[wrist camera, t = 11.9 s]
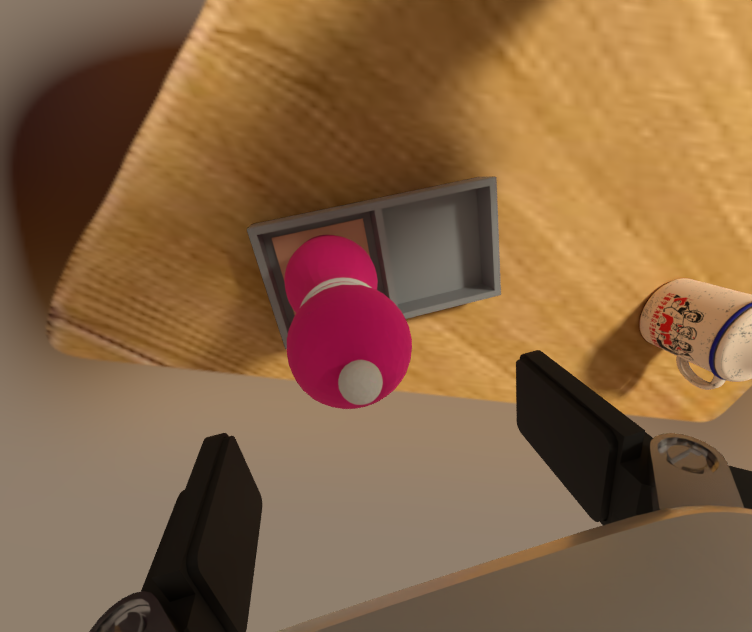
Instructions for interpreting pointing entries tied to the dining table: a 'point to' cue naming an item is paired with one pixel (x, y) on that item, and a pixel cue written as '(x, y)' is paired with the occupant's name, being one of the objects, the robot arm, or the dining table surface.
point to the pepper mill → (343, 325)
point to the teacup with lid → (702, 329)
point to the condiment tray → (399, 246)
